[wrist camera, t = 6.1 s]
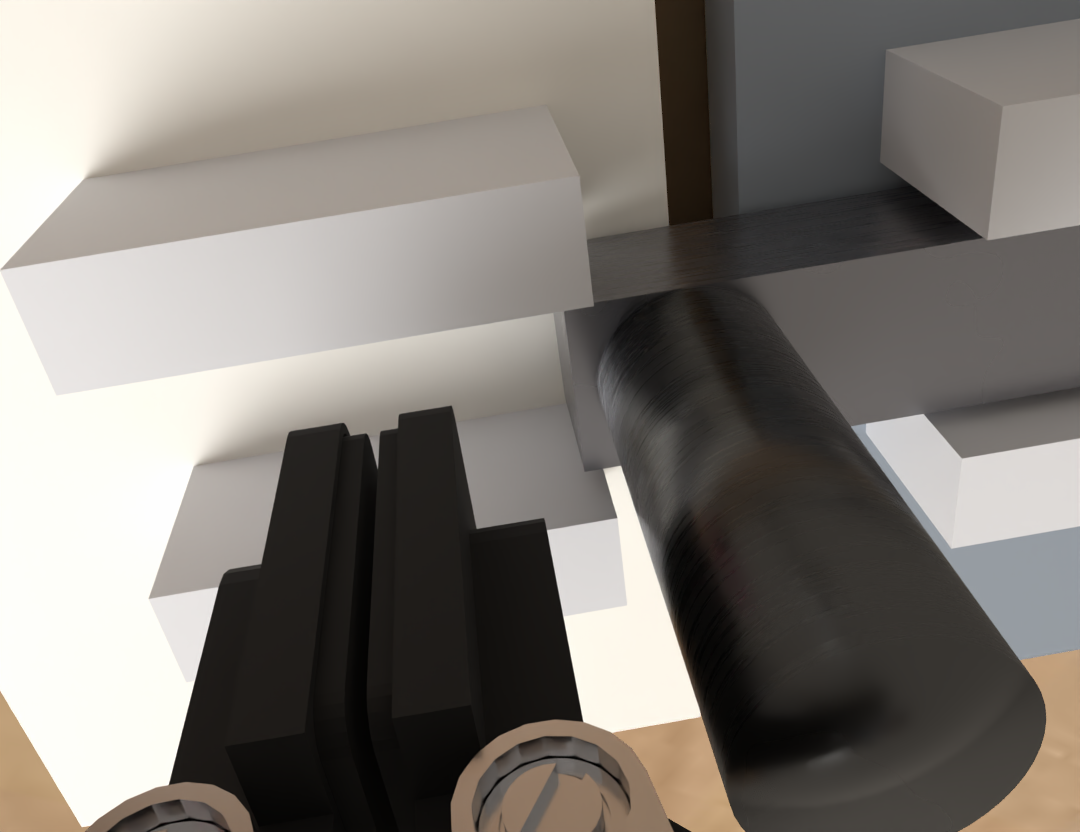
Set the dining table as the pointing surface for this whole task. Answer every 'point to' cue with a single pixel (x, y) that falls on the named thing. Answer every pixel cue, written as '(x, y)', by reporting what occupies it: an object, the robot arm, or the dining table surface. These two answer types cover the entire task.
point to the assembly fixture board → (445, 300)
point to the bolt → (821, 489)
